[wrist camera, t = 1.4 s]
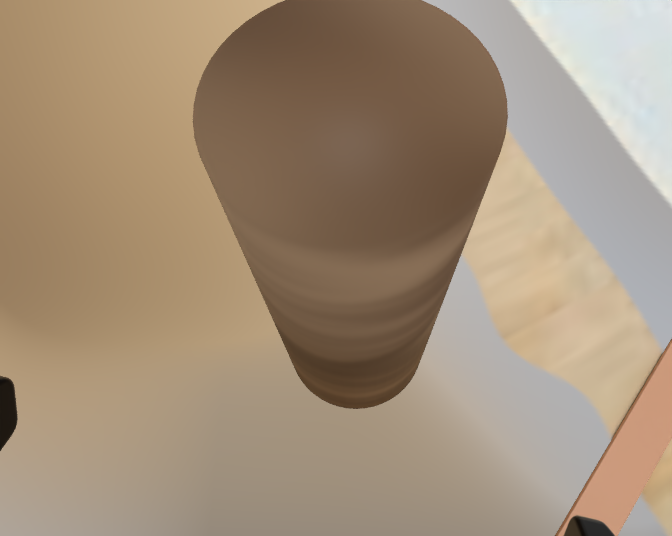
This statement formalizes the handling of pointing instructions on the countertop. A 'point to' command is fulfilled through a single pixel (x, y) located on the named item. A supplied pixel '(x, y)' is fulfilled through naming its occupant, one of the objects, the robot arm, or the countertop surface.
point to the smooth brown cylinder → (351, 176)
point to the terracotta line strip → (630, 453)
